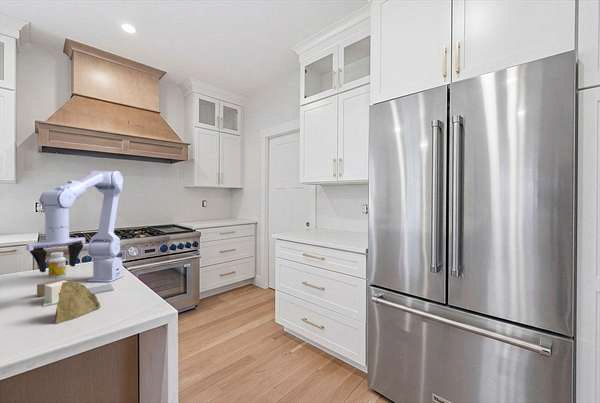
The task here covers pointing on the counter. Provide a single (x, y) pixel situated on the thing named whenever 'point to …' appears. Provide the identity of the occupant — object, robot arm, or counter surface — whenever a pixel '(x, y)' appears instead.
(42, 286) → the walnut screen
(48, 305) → the green mat
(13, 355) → the counter surface
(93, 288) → the grey mat
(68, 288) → the rock
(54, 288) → the lettered cube
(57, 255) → the supplement bottle
